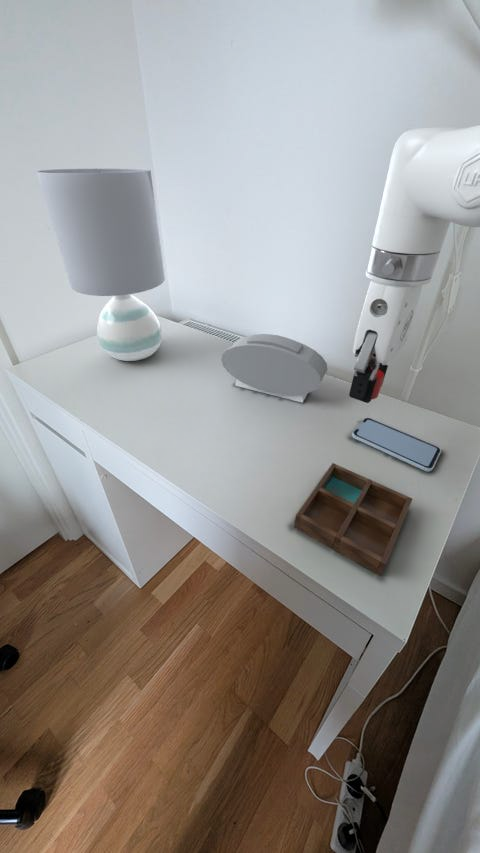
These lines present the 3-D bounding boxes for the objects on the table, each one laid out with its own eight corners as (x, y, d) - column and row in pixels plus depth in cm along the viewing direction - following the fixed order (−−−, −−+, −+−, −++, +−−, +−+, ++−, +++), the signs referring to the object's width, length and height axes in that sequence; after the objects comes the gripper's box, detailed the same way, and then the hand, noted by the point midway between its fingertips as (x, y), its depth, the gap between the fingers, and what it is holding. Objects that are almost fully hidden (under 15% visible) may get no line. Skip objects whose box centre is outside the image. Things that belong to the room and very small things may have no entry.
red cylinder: (382, 391, 53) (388, 371, 50) (373, 403, 50) (379, 382, 48) (357, 383, 54) (362, 363, 52) (347, 394, 52) (352, 374, 50)
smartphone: (431, 471, 58) (350, 434, 65) (429, 474, 59) (349, 437, 66) (442, 448, 63) (366, 415, 70) (440, 451, 63) (364, 419, 70)
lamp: (89, 377, 83) (22, 173, 58) (97, 340, 100) (48, 168, 74) (177, 368, 87) (151, 172, 61) (171, 333, 103) (149, 167, 78)
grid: (406, 511, 53) (412, 498, 51) (379, 576, 45) (386, 564, 43) (329, 475, 59) (332, 462, 57) (293, 527, 50) (296, 514, 48)
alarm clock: (323, 393, 78) (332, 342, 70) (316, 407, 74) (325, 354, 66) (233, 372, 86) (232, 323, 78) (221, 383, 81) (220, 333, 73)
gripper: (414, 287, 34) (369, 429, 45) (449, 255, 44) (405, 377, 56) (343, 275, 37) (318, 409, 49) (391, 248, 47) (361, 364, 59)
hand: (365, 391), depth 52 cm, fingers closed on red cylinder, 4 cm apart
